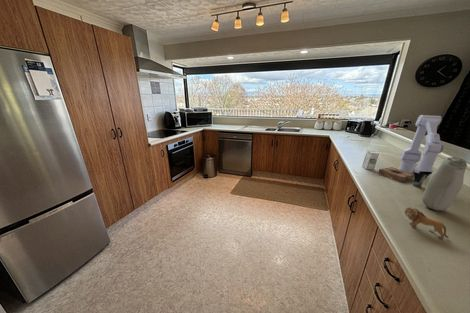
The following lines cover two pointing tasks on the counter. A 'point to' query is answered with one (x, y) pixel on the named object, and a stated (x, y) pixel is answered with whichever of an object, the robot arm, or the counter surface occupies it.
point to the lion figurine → (425, 221)
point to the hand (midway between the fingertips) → (418, 181)
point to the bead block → (396, 174)
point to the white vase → (445, 184)
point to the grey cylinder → (419, 182)
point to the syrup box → (370, 160)
